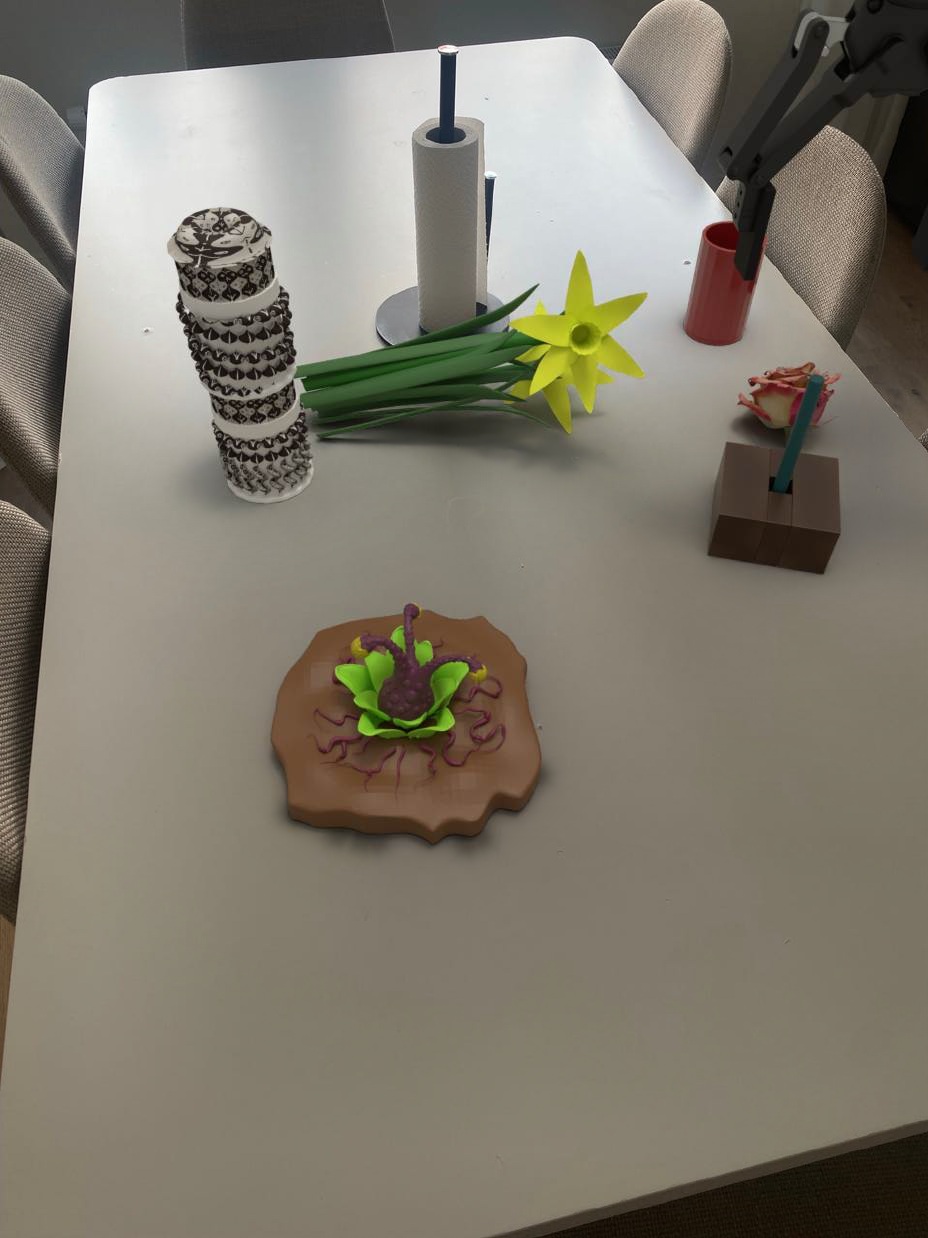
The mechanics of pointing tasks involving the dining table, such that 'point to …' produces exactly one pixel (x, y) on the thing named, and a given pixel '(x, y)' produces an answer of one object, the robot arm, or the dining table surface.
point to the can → (719, 288)
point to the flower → (786, 396)
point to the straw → (798, 432)
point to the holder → (775, 509)
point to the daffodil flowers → (481, 363)
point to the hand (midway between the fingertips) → (832, 266)
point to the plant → (407, 726)
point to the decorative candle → (243, 351)
